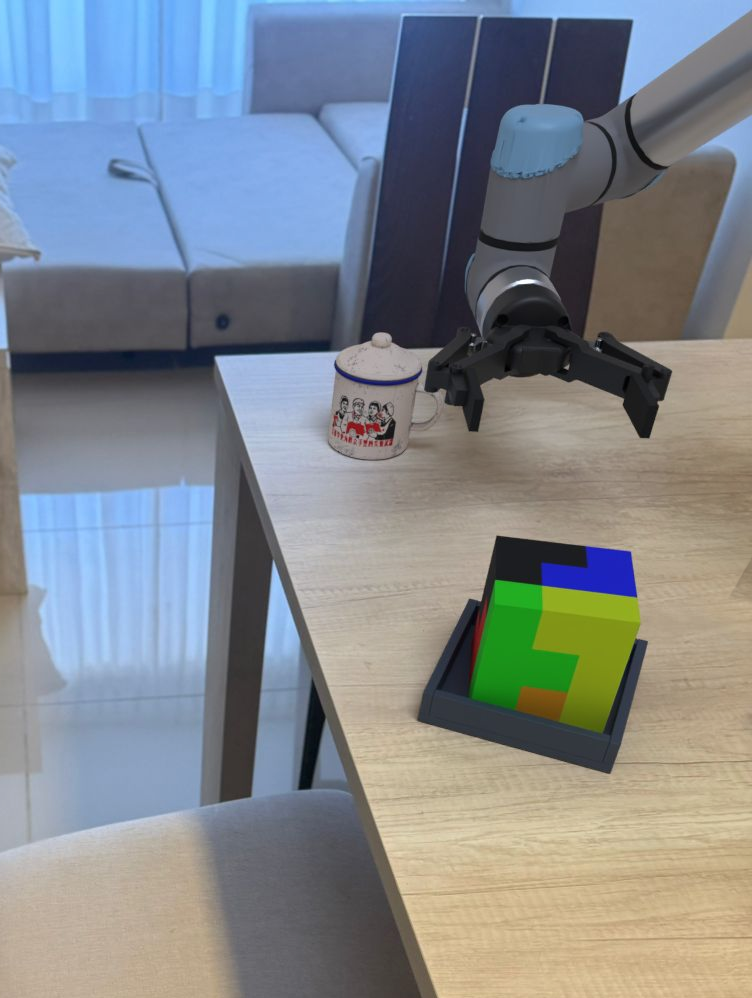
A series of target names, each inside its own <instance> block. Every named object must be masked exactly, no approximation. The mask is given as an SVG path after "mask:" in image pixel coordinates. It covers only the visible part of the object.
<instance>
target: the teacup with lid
mask: <svg viewBox="0 0 752 998" xmlns="http://www.w3.org/2000/svg"><path fill="white" fill-rule="evenodd" d="M392 340H393V338H392V336H391V334H389V333H387V332H375V333H374V334H373V335H372V337H371V340H369V341H366V342H363V343H361V344H360V343H359V344H355V345H351V346H347V347H346V348H344V349H342V350H341V351H340V352H339V353H338V354H337V356H336V358H335V360H334V363H333V368H334V370H335V373H334V383H333V388H332V389H333V391H332V398H331V399H332V400H331V408H330V415H329V425H328V432H327V433H328V434H327V440H328V443H329V444H330V446H331V447H332V448H333V449H334V450H335V451H337V452H338V451H339V454H343V455H345V456H347V457H351V458H355V459H359V460H361V459H362V460H371V461H375V460H385V459H391V458H393V457H396V456H398V455H400V454H403V452H404V451H405V450H406V449H407V447H408V444H409V439H410V433H411V432H414V433H415V432H416V433H417V432H418V433H419V432H420V433H421V432H426V431H427V430H430V429H431V428H433V427H434V426H436V424H437V423H438V422H439V420H440V419H441V417H442V416H443V413H444V411H445V405H446V404H445V403H444V400H445V395H444V394H443V393H442V392H441V389H440V390H439V391H438V392H435V393H429V392H426V391H425V390H424V386H425V382H424V383H422V382H419V380H420V379H419V378H420V376H422V373H423V366H422V365H423V364H422V360H421V359H420V358H419V356H418V355H416V354H415V353H414V352H412V351H411V350H409V349H406V348H404V347H401V346H399V345H397V344H396V343H395V342H393V341H392ZM417 393H422V394H426V395H429V396H431V398H433V399H434V400H435V402H436V411H435V414H434V415H433V416H432V417H431V418H430V419H429V420H427V421H424V422H414V421H412V420H413V414H414V409H415V402H416V396H417Z"/></svg>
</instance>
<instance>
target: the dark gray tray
mask: <svg viewBox="0 0 752 998" xmlns="http://www.w3.org/2000/svg"><path fill="white" fill-rule="evenodd" d="M480 604H481V600H478V599H474V598H468V600H467V602H466V604H465V606H464V608H463V610H462V612H461V614H460V617H459V618H458V620H457V622H456V624H455V626H454V628H453V631H452V633H451V635H450V636H449V638H448V641H447V643H446V644H445V646H444V649H443V651H442V653H441V655H440V657H439V659H438V661H437V663H436V665H435V667H434V669H433V671H432V673H431V675H430V677H429V679H428V681H427V683H426V685H425V687H424V690H422V696H421V701H420V705H419V709H418V715H417V722H421V723H425V724H428V725H430V726H431V725H432V726H436V727H439V728H442V729H446V730H450V731H453V732H457V733H461V734H464V735H468V736H471V737H475V738H479V739H482V740H487V741H489V742H493V743H497V744H500V745H503V746H508V747H512V748H514V749H519V750H521V751H522V750H523V751H525V752H530V753H534V754H537V755H541V756H544V757H548V758H551V759H555V760H557V761H558V760H559V761H561V762H562V761H563V762H566V763H570V764H573V765H576V766H580V767H584V768H588V769H591V770H595V771H599V772H603V773H606V774H609V775H610V774H611V773H612V770H613V767H614V765H615V762H616V760H617V756H618V754H619V751H620V748H621V746H622V741H623V738H624V735H625V731H626V727H627V723H628V718H629V716H630V712H631V708H632V706H633V705H632V704H633V700H634V697H635V693H636V689H637V687H638V682H639V678H640V675H641V670H642V667H643V663H644V661H645V660H644V659H645V656H646V652H647V647H648V644H649V641H648V640H646V639H641V638H637V637H636V639H635V642H634V645H633V648H632V650H631V653H630V656H629V659H628V662H627V665H626V668H625V671H624V673H623V676H622V679H621V682H620V685H619V688H618V691H617V694H616V696H615V699H614V702H613V705H612V708H611V711H610V714H609V717H608V719H607V722H606V725H605V728H604V731H603V733H599V732H595V731H591V730H588V729H584V728H580V727H576V726H573V725H569V724H565V723H561V722H557V721H554V720H550V719H546V718H542V717H539V716H535V715H531V714H527V713H524V712H520V711H516V710H512V709H508V708H505V707H501V706H497V705H493V704H490V703H486V702H482V701H478V700H475V699H471V698H469V681H470V662H471V643H472V638H473V634H474V630H475V626H476V621H477V617H478V613H479V608H480Z"/></svg>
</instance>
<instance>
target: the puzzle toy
mask: <svg viewBox="0 0 752 998" xmlns="http://www.w3.org/2000/svg"><path fill="white" fill-rule="evenodd" d="M489 561H490V562H489V566H488V570H487V575H486V579H485V583H484V588H483V592H482V595H481V600H480V601H481V604H480V608H479V613H478V617H477V621H476V626H475V630H474V634H473V638H472V643H471V662H470V681H469V698H471V699H475V700H478V701H482V702H486V703H490V704H493V705H497V706H501V707H505V708H508V709H512V710H516V711H520V712H524V713H527V714H531V715H535V716H539V717H542V718H546V719H550V720H554V721H557V722H561V723H565V724H569V725H573V726H576V727H580V728H584V729H588V730H591V731H595V732H599V733H603V731H604V728H605V725H606V722H607V719H608V717H609V714H610V711H611V708H612V705H613V702H614V699H615V696H616V694H617V691H618V688H619V685H620V682H621V679H622V676H623V673H624V671H625V668H626V665H627V662H628V659H629V656H630V653H631V650H632V648H633V645H634V642H635V639H636V638H637V635H638V633H639V630H640V626H641V625H642V618H641V613H640V605H639V597H638V591H637V583H636V578H635V577H636V576H635V569H634V564H633V563H634V562H633V556H632V551H631V550H622V549H614V548H606V547H596V546H589V545H581V544H572V543H564V542H556V541H547V540H539V539H531V538H522V537H514V536H505V535H495V539H494V544H493V549H492V553H491V557H490V560H489Z"/></svg>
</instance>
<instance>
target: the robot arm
mask: <svg viewBox="0 0 752 998" xmlns="http://www.w3.org/2000/svg"><path fill="white" fill-rule="evenodd" d="M751 116H752V9H750V10H749V11H747V12H746V13H745V14H744V15H742V16H741V17H739V18H738V19H736V20H735V21H733V22H732V23H731V24H729V25H728V26H727V27H725V28H724V29H722V30H721V31H720V32H718V33H717V34H716V35H714V36H712V37H711V38H710V39H709V40H708V41H706V42H704V43H703V44H701V45H700V46H698V47H697V48H696V49H695V50H693V51H691V52H690V53H688V54H687V55H686V56H685V57H683V58H682V59H681V60H679V61H678V62H676V63H675V64H673V65H672V66H670V68H668V69H666V70H665V71H664V72H663V73H661V74H660V75H658V76H656V78H654V79H652V80H651V81H650V82H648V83H647V84H645V85H644V86H643V87H641V88H640V89H639V90H638V91H637V92H636V93H634V94H633V95H631V96H629V97H628V98H627V99H625V100H624V101H622V102H621V103H619V104H618V105H617V106H615V107H614V108H612V109H611V110H609V111H608V112H607V113H604V114H603V115H601V116H599V117H595V118H592V119H587V120H584V118H583V115H582V114H581V112H580V111H579V110H577V109H575V108H572V107H569V106H565V105H558V104H550V103H535V104H520V105H516V106H513V107H512V108H510V109H509V110H507V111H506V112H505V113H504V115H503V116H502V118H501V120H500V123H499V128H498V132H497V137H496V142H495V147H494V150H493V151H492V154H491V157H490V169H489V174H488V180H487V187H486V192H485V199H484V204H483V210H482V216H481V223H480V229H479V233H478V234H479V235H478V236H477V241H476V247H475V250H474V252H473V253H472V255H471V256H470V258H469V260H468V261H467V265H466V268H465V274H464V293H465V295H466V300H467V302H468V306H469V307H470V310H471V311H472V312H471V313H472V315H473V317H474V320H475V322H476V324H477V327H478V330H479V333H480V336H478V334H477V333H476V332H472V329H471V328H470V327H468V326H460V327H457V329H456V335H455V337H454V338H453V339H452V340H451V341H449V342H448V343H447V344H446V345H445V346H444V347H442V349H440V351H438V352H437V353H436V354H435V355H434V356H433V357H431V358H430V359H429V360H428V362H427V369H426V375H425V380H424V384H425V386H424V390H425V391H426V392H429V393H435V392H438V391H439V390H440V391H441V390H444V391H445V395H444V403H445V405H448V406H453V407H461V408H462V412H463V415H464V419H465V423H466V427H467V431H468V432H469V433H479V430H480V425H481V420H482V416H483V410H484V405H485V400H486V399H485V397H484V393H483V390H482V386H481V385H484V384H485V383H487V382H490V381H492V380H494V379H495V380H498V381H502V380H504V379H506V378H507V377H511V378H518V379H523V378H524V379H525V378H530V377H535V376H538V375H542V376H544V377H548V376H551V377H554V378H557V379H558V380H561V381H563V382H566V383H573V382H575V381H579V382H581V383H583V384H586V385H588V386H591V387H593V388H596V389H599V390H601V391H603V392H606V393H608V394H611V395H613V396H616V397H618V398H621V399H623V402H622V407H623V409H624V411H625V413H626V415H627V416H628V419H629V421H630V422H631V424H632V426H633V429H634V430H635V432H636V433H637V436H638V437H639V439H650V438H651V434H652V432H653V427H654V425H655V421H656V418H657V415H658V412H659V408H660V404H659V402H663V401H664V400H665V397H666V395H667V391H668V387H669V384H670V381H671V379H672V375H673V369H671V368H669V367H667V366H665V365H663V364H661V363H660V362H658V361H656V360H653V359H652V358H650V357H649V356H646V355H645V354H643V353H641V352H639V351H637V350H635V349H633V348H631V347H630V346H627V345H626V344H625V343H622V342H620V341H618V339H616V337H615V336H614V335H613V334H612V333H610V332H609V331H600V332H598V333H597V337H596V339H595V340H586V339H583V338H582V337H580V335H578V334H576V333H574V332H573V329H572V323H571V319H570V316H569V313H568V312H567V309H566V308H565V306H564V304H563V301H562V298H561V297H560V295H559V293H558V291H557V289H556V288H555V287H554V284H553V282H552V280H551V273H552V268H553V266H554V265H553V264H554V259H555V254H556V250H557V247H558V243H559V239H560V234H561V230H562V225H563V222H564V217H565V214H567V213H570V212H575V211H577V210H581V209H585V208H588V207H593V206H596V205H599V204H600V205H601V204H603V203H607V202H610V201H611V202H612V201H615V200H622V199H627V198H631V197H633V196H634V195H636V194H639V193H640V192H642V191H644V190H647V189H649V188H651V187H652V186H654V185H655V184H657V183H658V182H659V181H660V180H661V179H662V178H663V176H664V175H665V174H666V173H667V171H668V169H669V168H670V167H672V166H673V165H674V164H676V163H677V162H679V161H680V160H682V159H684V158H686V157H687V156H688V155H690V154H691V153H693V152H695V151H697V150H698V149H700V148H701V147H703V146H705V145H706V144H707V143H709V142H711V141H712V140H713V139H715V138H717V137H719V136H720V135H722V134H724V133H726V132H727V131H728V130H730V129H732V128H733V127H735V126H736V125H738V124H740V123H741V122H743V121H744V120H746V119H747V118H749V117H751ZM566 367H568V368H566Z"/></svg>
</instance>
